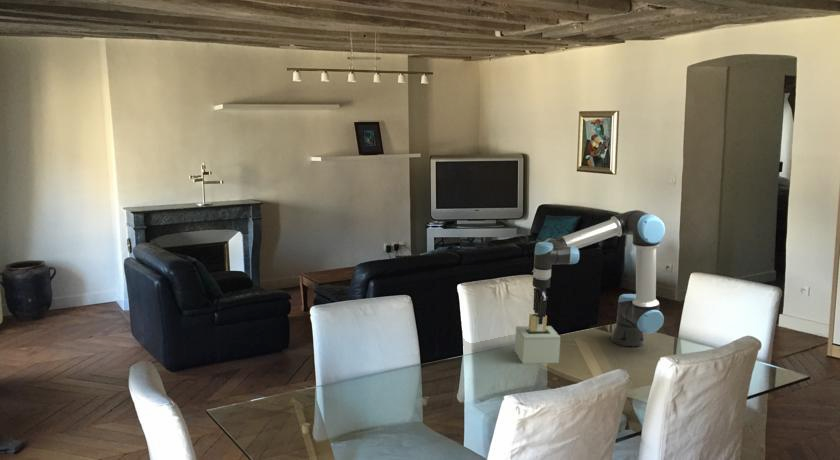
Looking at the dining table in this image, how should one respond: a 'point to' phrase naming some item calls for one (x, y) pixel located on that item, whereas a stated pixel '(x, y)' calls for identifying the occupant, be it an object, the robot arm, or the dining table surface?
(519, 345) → the box
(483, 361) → the dining table surface
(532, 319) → the tan wooden block
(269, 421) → the dining table surface
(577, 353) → the dining table surface
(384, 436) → the dining table surface
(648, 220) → the robot arm
